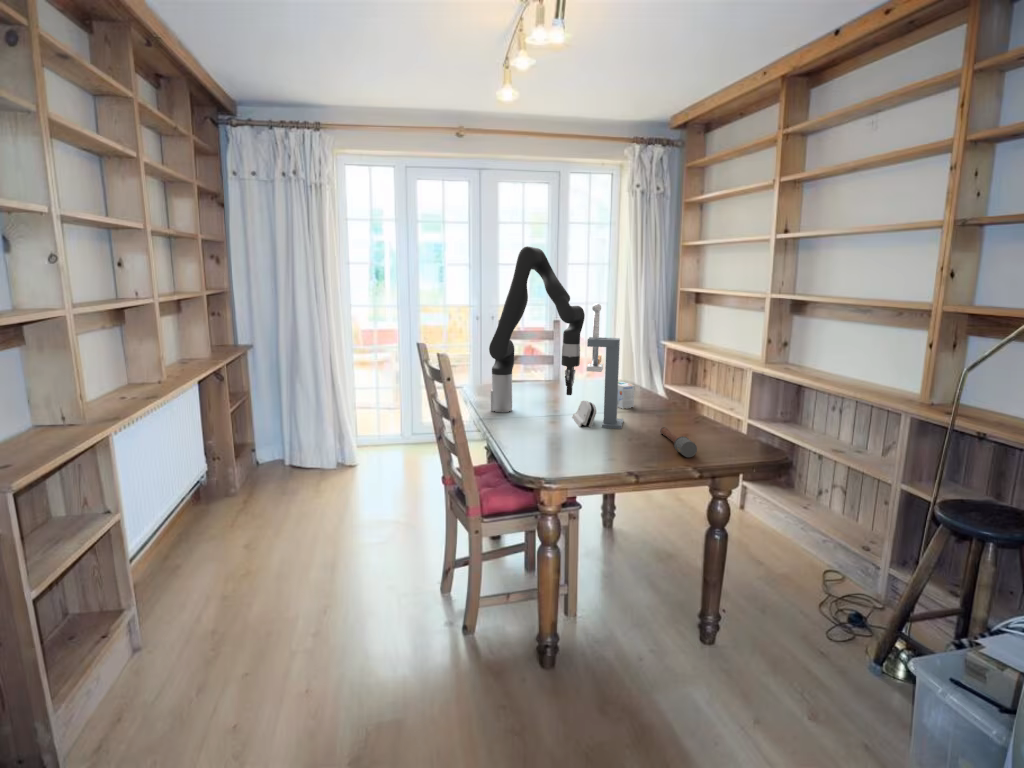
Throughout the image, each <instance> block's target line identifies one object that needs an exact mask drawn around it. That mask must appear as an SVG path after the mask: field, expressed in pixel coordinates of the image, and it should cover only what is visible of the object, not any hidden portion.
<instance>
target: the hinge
mask: <svg viewBox="0 0 1024 768" xmlns="http://www.w3.org/2000/svg"><path fill="white" fill-rule="evenodd" d="M596 416H597V408H596V405H595V404H594V403H593V402H591V401H587V400H581V401H580V404H579V405H578V408H577V409H576V412H574V413H573V414H572V416H571V418H572V420H573V419H574V422H575V424H576V425H577V426H578V427H579V428H581V427H582V425H583V426H585V427H587V426H588V427H589V428H592V426H593V424H594V420H595V418H596Z"/></svg>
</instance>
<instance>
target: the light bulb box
mask: <svg viewBox="0 0 1024 768" xmlns="http://www.w3.org/2000/svg"><path fill="white" fill-rule="evenodd" d="M635 386H636V385H634V384H631V383H628V382H624V381H618V399H617V408H619V409H621V408H622V410H624V408H626V409H632V408H631V407H633V408H634V407H635V406H634V405H635Z"/></svg>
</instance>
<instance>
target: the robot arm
mask: <svg viewBox="0 0 1024 768" xmlns="http://www.w3.org/2000/svg"><path fill="white" fill-rule="evenodd" d="M532 270H533V271H535V272H536V273H537V274H538V275H539V277H540V278H541V279H542V281H543V284H544V285H543V286H544V289H545V291H546V294H547V296H548V297H549V299H550V300H551V301H552V303H554V305H555V307H556V311H557V313H558V316H559V317H560V319H561V320H562V322H564V323H565V324H568V327H567V328H566V329H564V330H563V332H562V346H561V365H562V366H564V367H565V370H564V375H565V376H564V378H565V379H564V381H565V386H566V394H565V395H567V396H572V395H573V386H574V383H575V377H576V376H575V375H576V369H575V367H579V366H580V365H581V364H580V363H581V361H580V360H581V359H580V358H581V333H582V329H583V325H584V322H585V311H584V309H583V307H582V306H581V305H571V304H570V301H571V296H570V295H569V292H568V291H567V290H566V289H565V287H564V286H563V284H562V283H561V282H560V280H559V279H558V277H557V275H556V274H555V272H554V270H553V268H552V266H551V264H550V262H549V260H548V258H547V256H546V254H545V252H544V251H543V250H542V249H541V248H539V247H533V246H527V245H526V246H524V247H522V249H520V251H519V253H518V255H517V260H516V264H515V269H514V273H513V276H512V277H513V278H512V279H511V280H512V281H511V284H510V287H509V290H508V294H507V295H506V298H505V301H504V305H503V308H502V311H501V314H500V318H499V321H498V323H497V324H498V325H497V328H496V329H495V332H494V334H493V337H492V339H491V341H490V343H489V347H488V350H489V351H488V352H489V355H490V356H491V358H492V359H494V363H493V365H492V367H491V390H490V412H494V411H495V412H496V413H509V411H510V412H512V411H513V370H514V369H513V368H514V366H515V365H514V364H515V346H514V343H513V341H512V340H511V337H512V334H513V332H514V331H515V329H516V327H517V326H518V324H519V323H520V321H521V319H522V317H523V316H524V313H525V311H526V308H527V304H528V301H529V300H528V299H529V294H528V293H529V292H528V279H529V276H530V274H531V271H532Z"/></svg>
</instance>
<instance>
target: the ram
mask: <svg viewBox="0 0 1024 768" xmlns="http://www.w3.org/2000/svg"><path fill="white" fill-rule="evenodd" d="M592 311H593V320H592V321H593V323H592V325H593V327H592V337H593V339H599V337H600V313H601V311H602V306H601V304H600V303H594V304H593V305H592ZM599 348H600V347H592V353H591V354H592V357H591V358H592V359H591V360H592V361H591V362H589V363H588V364H587V365H586V372H597V373H602V372H603V369H604V363H602V355H599Z"/></svg>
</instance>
